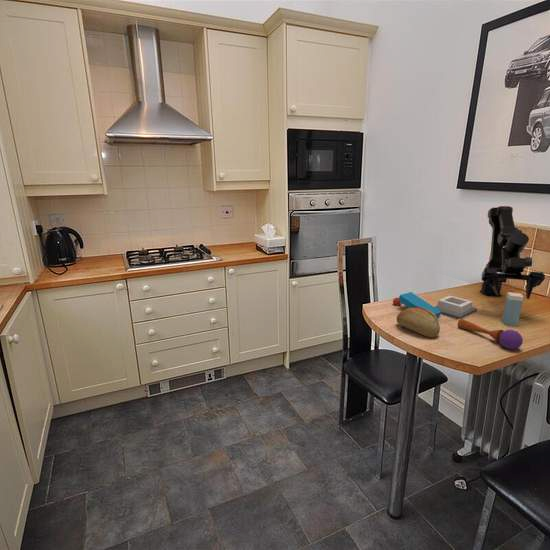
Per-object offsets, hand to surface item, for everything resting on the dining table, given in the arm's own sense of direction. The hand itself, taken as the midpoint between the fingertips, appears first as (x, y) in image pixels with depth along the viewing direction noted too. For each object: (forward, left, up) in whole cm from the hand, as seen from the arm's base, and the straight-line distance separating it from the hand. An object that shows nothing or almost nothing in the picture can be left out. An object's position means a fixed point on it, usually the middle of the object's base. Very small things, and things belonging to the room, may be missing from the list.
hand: (513, 297), depth 128 cm
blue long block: (+31, -10, -10) cm, 34 cm away
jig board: (+15, -10, -9) cm, 20 cm away
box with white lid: (+1, +2, -9) cm, 10 cm away
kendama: (+15, +14, -10) cm, 23 cm away
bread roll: (+36, +8, -10) cm, 38 cm away
